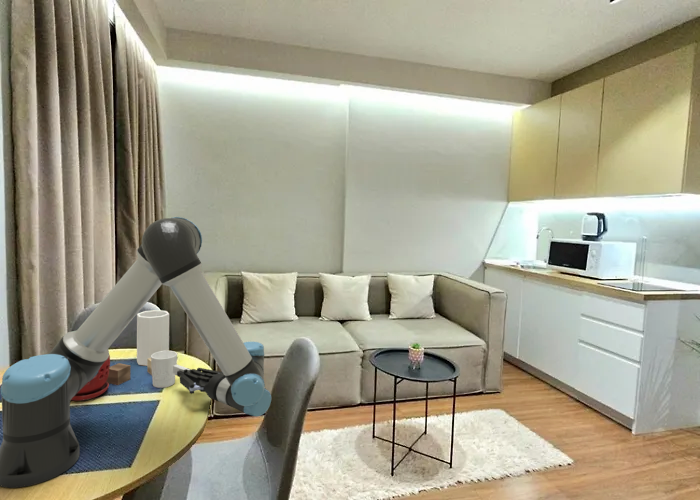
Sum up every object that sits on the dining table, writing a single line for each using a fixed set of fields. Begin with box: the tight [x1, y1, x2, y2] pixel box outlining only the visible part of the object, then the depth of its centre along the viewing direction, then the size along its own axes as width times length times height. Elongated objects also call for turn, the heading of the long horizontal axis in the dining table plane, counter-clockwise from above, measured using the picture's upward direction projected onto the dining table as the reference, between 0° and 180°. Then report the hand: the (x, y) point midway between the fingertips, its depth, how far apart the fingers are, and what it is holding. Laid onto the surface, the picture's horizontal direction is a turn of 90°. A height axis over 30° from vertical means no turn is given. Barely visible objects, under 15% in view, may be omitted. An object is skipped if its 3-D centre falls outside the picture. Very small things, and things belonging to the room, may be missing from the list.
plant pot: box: [70, 354, 111, 402], centre depth 120 cm, size 13×13×12 cm
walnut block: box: [106, 362, 132, 386], centre depth 131 cm, size 5×5×5 cm
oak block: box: [146, 358, 152, 376], centre depth 139 cm, size 5×5×5 cm
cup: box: [136, 309, 170, 367], centre depth 149 cm, size 11×11×18 cm
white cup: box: [151, 350, 178, 389], centre depth 131 cm, size 8×8×10 cm
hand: (175, 369), depth 127 cm, fingers closed
